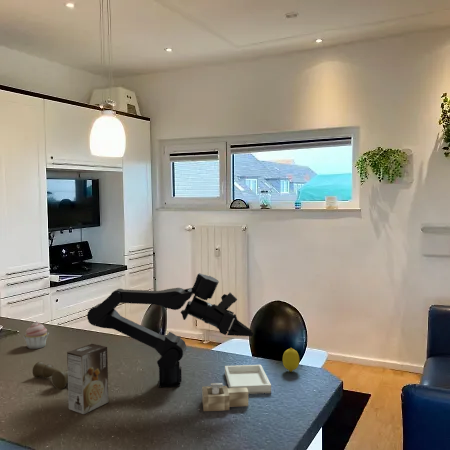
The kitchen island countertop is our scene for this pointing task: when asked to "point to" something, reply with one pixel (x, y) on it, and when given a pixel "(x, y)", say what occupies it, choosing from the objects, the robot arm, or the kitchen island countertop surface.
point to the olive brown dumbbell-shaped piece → (51, 374)
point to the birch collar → (224, 398)
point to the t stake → (216, 387)
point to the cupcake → (36, 336)
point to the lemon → (290, 359)
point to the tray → (248, 378)
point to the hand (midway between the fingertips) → (252, 333)
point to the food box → (87, 378)
